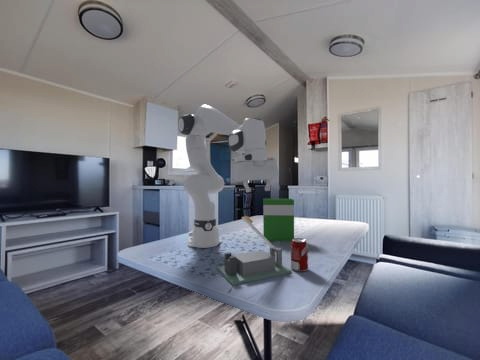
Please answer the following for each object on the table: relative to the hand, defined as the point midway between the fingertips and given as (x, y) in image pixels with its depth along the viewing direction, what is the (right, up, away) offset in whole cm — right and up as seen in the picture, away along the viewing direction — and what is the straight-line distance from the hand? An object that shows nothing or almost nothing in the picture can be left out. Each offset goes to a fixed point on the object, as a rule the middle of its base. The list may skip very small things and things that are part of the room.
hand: (258, 191), depth 97 cm
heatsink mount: (-2, -32, -1) cm, 32 cm away
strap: (+1, -18, 0) cm, 18 cm away
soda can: (+17, -32, 0) cm, 36 cm away
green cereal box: (+16, -31, +46) cm, 58 cm away
